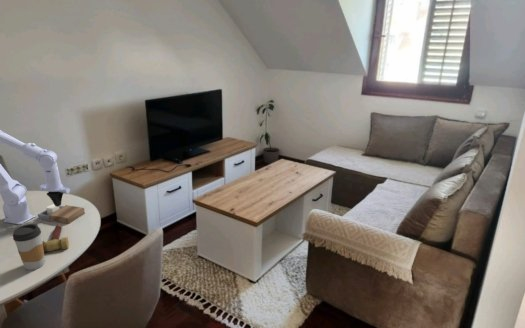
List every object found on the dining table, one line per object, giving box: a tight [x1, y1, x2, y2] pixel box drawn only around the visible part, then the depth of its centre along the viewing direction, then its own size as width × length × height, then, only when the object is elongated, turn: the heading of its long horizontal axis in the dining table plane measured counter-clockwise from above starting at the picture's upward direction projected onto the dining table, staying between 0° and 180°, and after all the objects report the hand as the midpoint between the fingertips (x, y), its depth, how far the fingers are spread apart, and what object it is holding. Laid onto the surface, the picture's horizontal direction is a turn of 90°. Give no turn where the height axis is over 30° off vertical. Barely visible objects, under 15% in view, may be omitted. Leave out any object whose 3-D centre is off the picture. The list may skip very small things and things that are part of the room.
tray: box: [37, 205, 65, 222], centre depth 161 cm, size 6×10×2 cm, turn 165°
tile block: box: [45, 203, 60, 215], centre depth 161 cm, size 4×4×3 cm
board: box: [49, 204, 86, 225], centre depth 159 cm, size 10×10×3 cm
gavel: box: [42, 224, 70, 254], centre depth 142 cm, size 21×5×10 cm
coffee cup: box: [12, 223, 46, 271], centre depth 124 cm, size 8×8×15 cm
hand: (58, 205), depth 158 cm, fingers closed
